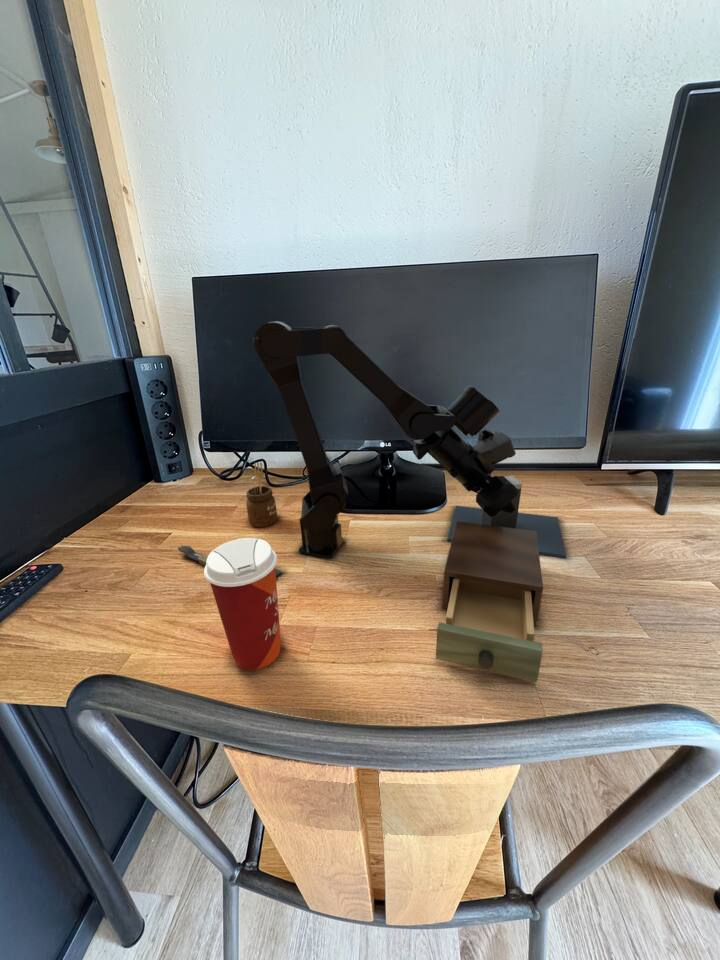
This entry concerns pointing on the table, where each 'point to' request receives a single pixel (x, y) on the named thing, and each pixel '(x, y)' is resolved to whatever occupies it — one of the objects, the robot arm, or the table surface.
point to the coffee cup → (247, 599)
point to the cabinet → (494, 559)
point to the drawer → (490, 630)
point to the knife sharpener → (504, 517)
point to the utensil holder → (260, 503)
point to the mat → (543, 525)
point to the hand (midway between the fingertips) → (507, 505)
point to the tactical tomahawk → (201, 558)
